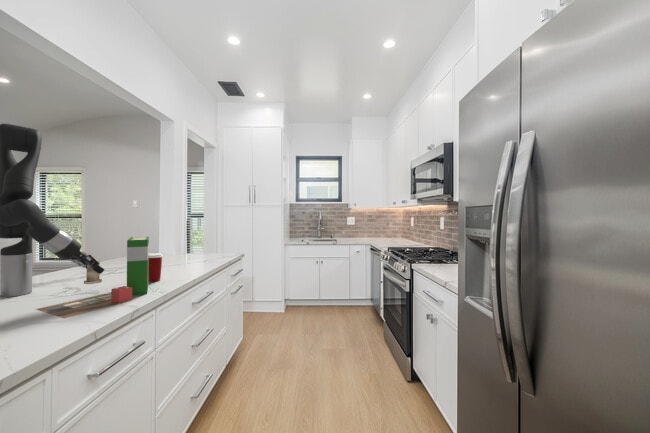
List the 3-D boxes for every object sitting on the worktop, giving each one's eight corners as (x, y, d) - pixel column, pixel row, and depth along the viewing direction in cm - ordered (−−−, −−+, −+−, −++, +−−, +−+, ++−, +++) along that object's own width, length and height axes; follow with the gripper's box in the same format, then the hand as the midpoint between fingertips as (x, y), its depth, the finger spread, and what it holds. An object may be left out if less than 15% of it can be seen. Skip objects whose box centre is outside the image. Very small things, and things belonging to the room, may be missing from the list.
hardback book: (130, 286, 134) (130, 237, 134) (148, 285, 138) (148, 236, 138) (126, 296, 119) (127, 240, 119) (147, 294, 123) (147, 239, 123)
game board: (35, 310, 102) (35, 309, 102) (104, 294, 122) (104, 293, 122) (64, 320, 94) (64, 318, 94) (133, 301, 114) (133, 299, 114)
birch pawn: (80, 283, 111) (80, 258, 111) (97, 280, 116) (97, 256, 116) (88, 284, 108) (88, 259, 108) (104, 281, 114) (105, 257, 114)
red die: (111, 301, 112) (111, 288, 112) (124, 297, 117) (124, 285, 117) (118, 303, 110) (119, 290, 110) (132, 299, 115) (132, 287, 115)
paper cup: (166, 279, 149) (166, 253, 149) (152, 283, 142) (153, 255, 142) (155, 278, 152) (155, 252, 152) (141, 281, 145) (142, 254, 144)
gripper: (80, 237, 102) (116, 265, 113) (60, 236, 108) (96, 262, 119) (62, 253, 98) (101, 281, 109) (41, 251, 103) (81, 277, 114)
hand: (98, 271), depth 114 cm, fingers closed on birch pawn, 4 cm apart
